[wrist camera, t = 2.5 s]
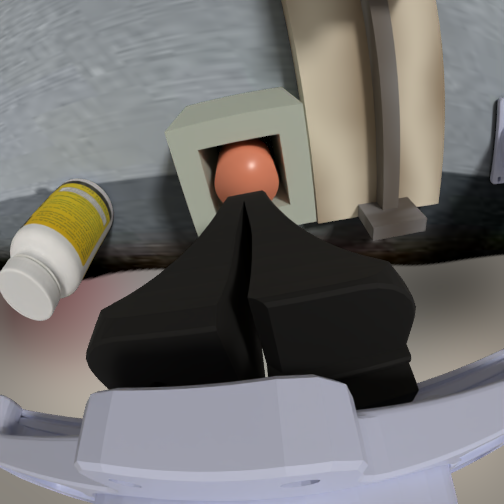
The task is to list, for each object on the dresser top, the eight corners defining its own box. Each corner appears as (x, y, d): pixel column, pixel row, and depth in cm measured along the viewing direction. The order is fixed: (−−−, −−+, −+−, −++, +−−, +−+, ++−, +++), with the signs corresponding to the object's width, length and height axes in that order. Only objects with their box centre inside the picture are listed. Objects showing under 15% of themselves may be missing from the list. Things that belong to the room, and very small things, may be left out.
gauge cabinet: (281, 86, 17) (302, 103, 12) (294, 172, 21) (316, 221, 15) (181, 107, 18) (158, 133, 12) (204, 189, 21) (194, 243, 16)
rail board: (397, -93, 8) (429, -111, 4) (428, 194, 22) (458, 224, 18) (253, -103, 8) (258, -134, 5) (313, 213, 23) (328, 249, 19)
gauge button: (266, 130, 15) (273, 148, 12) (275, 179, 16) (282, 205, 14) (212, 141, 15) (207, 161, 13) (224, 189, 17) (222, 216, 14)
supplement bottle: (59, 167, 19) (-17, 244, 11) (122, 189, 21) (66, 281, 13) (52, 224, 22) (-5, 308, 14) (108, 245, 23) (65, 340, 16)
